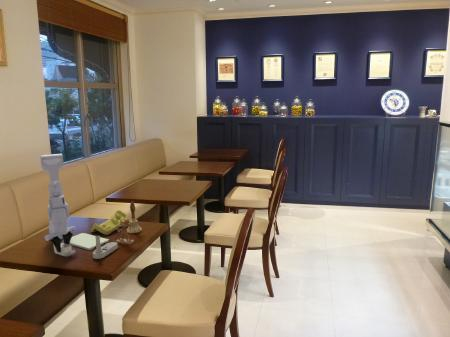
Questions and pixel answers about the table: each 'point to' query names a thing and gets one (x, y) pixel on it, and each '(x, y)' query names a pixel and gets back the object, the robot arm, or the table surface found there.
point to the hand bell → (133, 221)
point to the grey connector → (65, 250)
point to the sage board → (86, 241)
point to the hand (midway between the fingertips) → (63, 250)
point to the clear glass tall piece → (122, 240)
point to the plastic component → (110, 223)
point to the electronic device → (103, 249)
